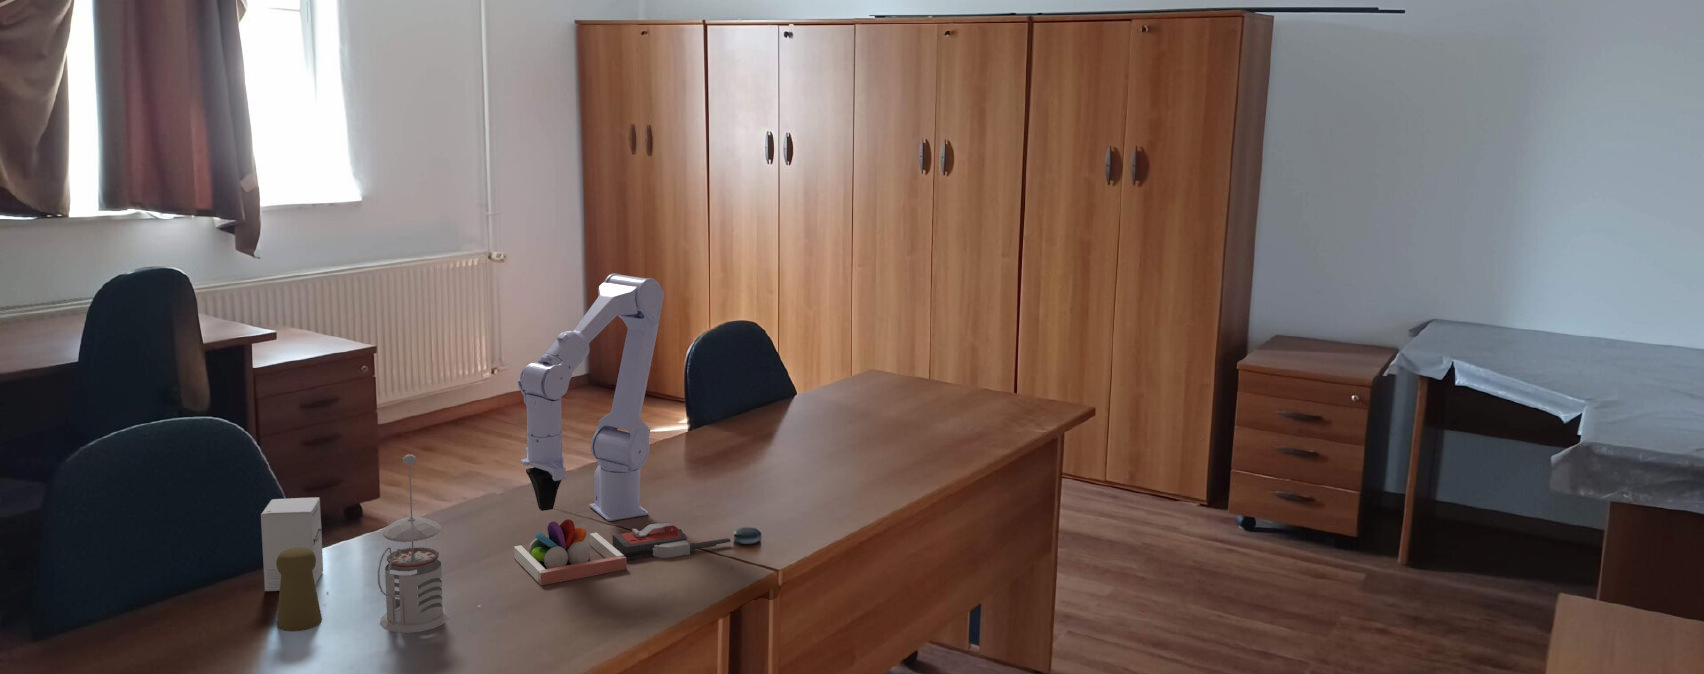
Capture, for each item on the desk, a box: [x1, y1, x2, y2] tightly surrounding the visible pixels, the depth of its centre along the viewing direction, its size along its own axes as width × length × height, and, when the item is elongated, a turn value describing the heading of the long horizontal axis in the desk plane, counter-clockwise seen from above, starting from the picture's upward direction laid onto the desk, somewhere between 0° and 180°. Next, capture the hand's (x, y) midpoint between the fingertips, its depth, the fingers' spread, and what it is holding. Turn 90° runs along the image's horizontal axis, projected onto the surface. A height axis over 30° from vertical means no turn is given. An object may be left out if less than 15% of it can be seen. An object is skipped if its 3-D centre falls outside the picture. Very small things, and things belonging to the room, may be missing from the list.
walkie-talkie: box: [612, 521, 732, 561], centre depth 213 cm, size 9×4×20 cm
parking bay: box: [513, 532, 628, 586], centre depth 205 cm, size 13×14×2 cm
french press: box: [377, 454, 451, 634], centre depth 179 cm, size 10×12×25 cm
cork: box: [276, 547, 323, 632], centre depth 179 cm, size 6×6×11 cm
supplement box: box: [260, 497, 324, 592], centre depth 193 cm, size 7×7×13 cm
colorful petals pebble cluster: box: [528, 519, 591, 569], centre depth 205 cm, size 8×10×7 cm
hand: (546, 508), depth 214 cm, fingers closed
